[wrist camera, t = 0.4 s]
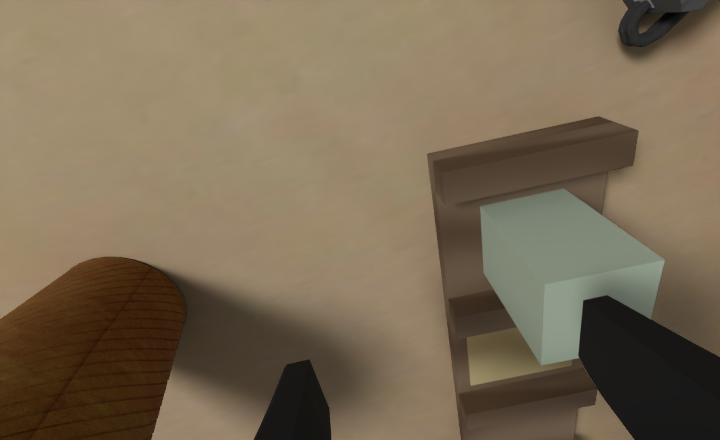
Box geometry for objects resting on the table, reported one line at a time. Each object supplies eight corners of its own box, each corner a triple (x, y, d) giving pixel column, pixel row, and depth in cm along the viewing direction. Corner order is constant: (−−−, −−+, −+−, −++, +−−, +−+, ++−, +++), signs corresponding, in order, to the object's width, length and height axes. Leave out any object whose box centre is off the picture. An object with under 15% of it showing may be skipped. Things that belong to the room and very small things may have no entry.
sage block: (559, 257, 20) (644, 344, 14) (483, 273, 20) (541, 365, 14) (563, 188, 18) (664, 259, 12) (480, 206, 18) (544, 284, 12)
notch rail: (564, 439, 29) (583, 474, 27) (463, 459, 30) (474, 495, 27) (598, 116, 17) (638, 130, 15) (427, 153, 17) (441, 173, 15)
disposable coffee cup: (115, 387, 23) (-66, 701, 12) (-21, 274, 19) (-480, 609, 8) (250, 331, 22) (178, 627, 11) (138, 196, 17) (-155, 471, 7)
